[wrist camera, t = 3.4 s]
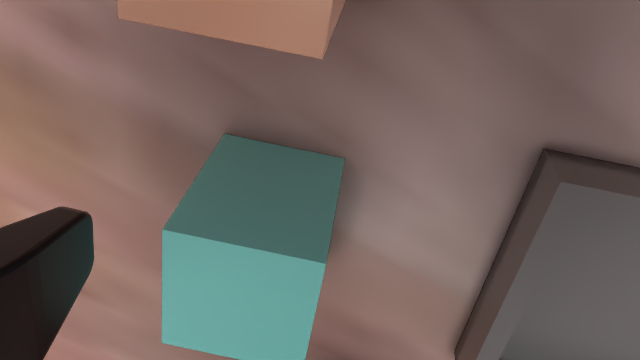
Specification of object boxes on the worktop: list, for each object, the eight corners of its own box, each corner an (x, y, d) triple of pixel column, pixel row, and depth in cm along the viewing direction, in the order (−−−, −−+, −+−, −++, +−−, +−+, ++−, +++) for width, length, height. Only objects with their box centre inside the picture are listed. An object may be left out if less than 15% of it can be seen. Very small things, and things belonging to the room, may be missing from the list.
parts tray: (687, 402, 23) (713, 449, 21) (454, 352, 23) (459, 394, 21) (850, 210, 18) (904, 251, 16) (543, 148, 18) (561, 181, 16)
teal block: (324, 252, 22) (302, 373, 16) (217, 230, 22) (161, 343, 16) (344, 158, 19) (326, 264, 14) (224, 133, 19) (162, 229, 14)
